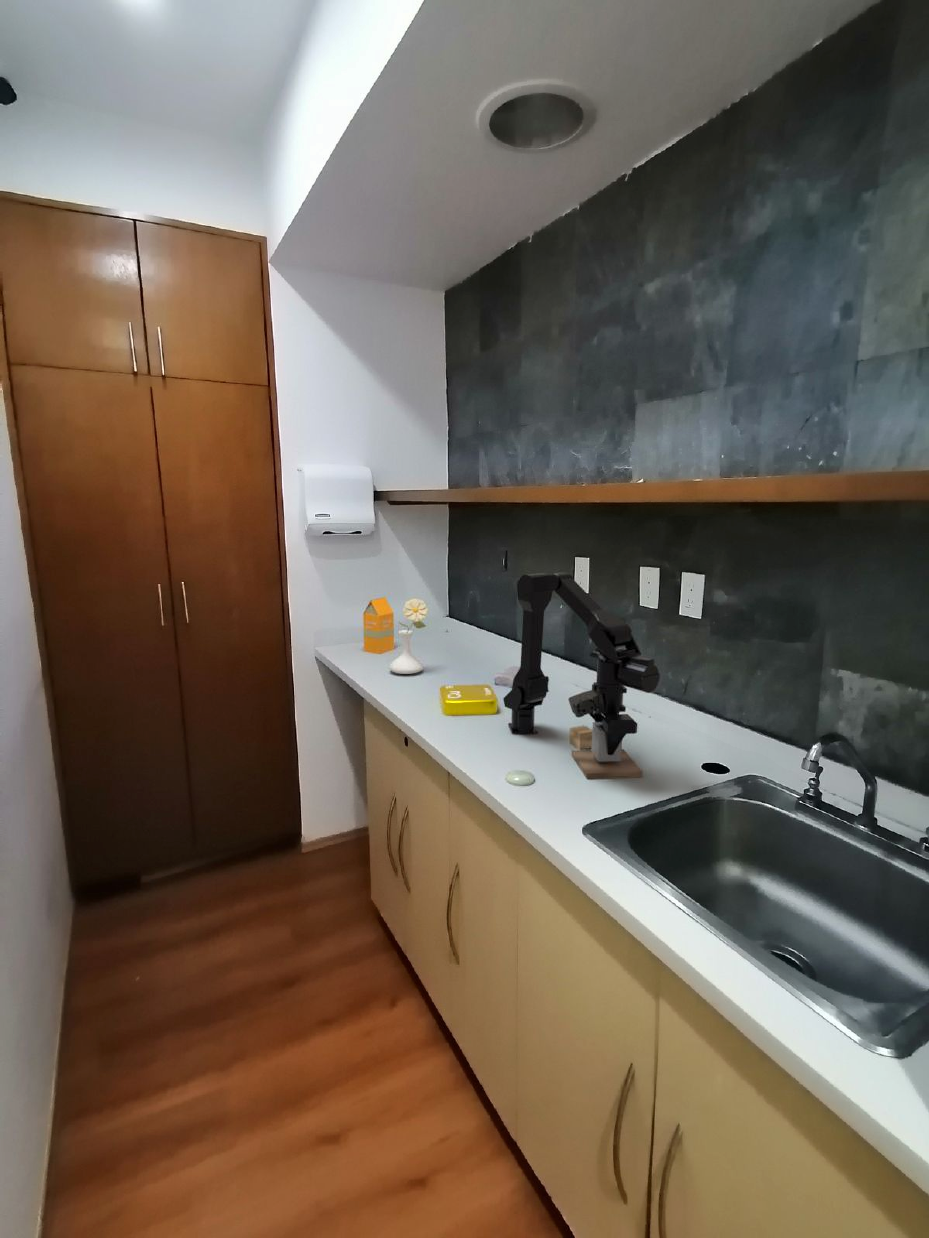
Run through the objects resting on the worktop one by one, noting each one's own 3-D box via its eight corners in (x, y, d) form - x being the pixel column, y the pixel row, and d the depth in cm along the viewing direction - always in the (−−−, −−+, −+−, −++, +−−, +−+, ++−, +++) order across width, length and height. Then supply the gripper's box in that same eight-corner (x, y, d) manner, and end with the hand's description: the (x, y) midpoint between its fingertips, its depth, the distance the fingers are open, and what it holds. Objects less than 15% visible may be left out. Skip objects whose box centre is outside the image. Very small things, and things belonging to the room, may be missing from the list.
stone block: (537, 686, 200) (512, 675, 205) (540, 673, 198) (514, 662, 204) (517, 697, 191) (491, 685, 196) (519, 683, 189) (493, 671, 195)
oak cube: (569, 743, 149) (569, 727, 148) (583, 741, 151) (583, 725, 150) (579, 749, 145) (580, 733, 145) (593, 746, 147) (594, 730, 146)
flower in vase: (385, 676, 204) (384, 600, 199) (393, 666, 215) (392, 595, 210) (425, 677, 202) (424, 601, 197) (431, 668, 213) (430, 596, 209)
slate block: (591, 752, 138) (592, 722, 137) (613, 751, 139) (614, 721, 137) (598, 761, 133) (599, 730, 132) (620, 760, 134) (622, 729, 132)
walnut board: (571, 755, 142) (571, 750, 141) (622, 753, 143) (623, 748, 143) (586, 778, 130) (587, 773, 130) (642, 776, 131) (642, 771, 131)
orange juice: (394, 649, 239) (393, 598, 236) (379, 654, 232) (378, 601, 228) (378, 646, 243) (377, 596, 240) (363, 651, 236) (362, 599, 232)
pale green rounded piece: (503, 775, 132) (503, 770, 132) (530, 774, 133) (531, 769, 133) (507, 787, 126) (507, 783, 126) (536, 786, 127) (537, 782, 127)
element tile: (498, 715, 169) (498, 698, 168) (443, 717, 167) (443, 700, 166) (489, 698, 183) (490, 682, 182) (439, 699, 182) (439, 683, 181)
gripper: (562, 669, 141) (559, 734, 144) (585, 695, 123) (582, 769, 126) (609, 668, 142) (606, 733, 145) (640, 694, 124) (635, 767, 127)
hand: (606, 749), depth 136 cm, fingers closed on slate block, 5 cm apart
